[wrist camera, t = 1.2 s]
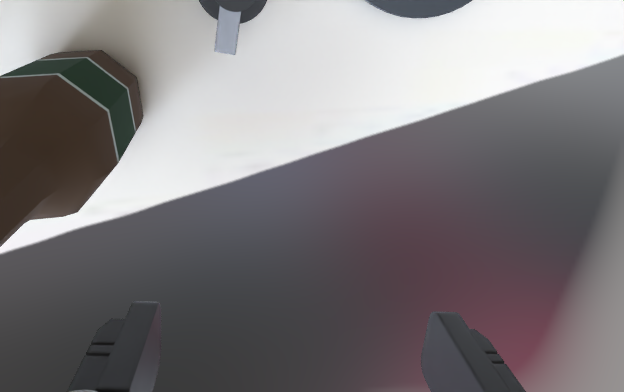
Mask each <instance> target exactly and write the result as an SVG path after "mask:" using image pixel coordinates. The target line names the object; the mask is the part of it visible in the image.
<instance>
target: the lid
mask: <svg viewBox="0 0 624 392" xmlns="http://www.w3.org/2000/svg"><path fill="white" fill-rule="evenodd" d="M365 1H367V2H368V3H370V4H371V5H373V6H375V7H376V8H378V9H380V10H383V11H385V12H387V13H390V14H394V15H397V16H401V17H408V18H429V17H435V16H440V15H443V14H446V13H450V12H452V11H454V10H456V9H459V8H461V7H463V6H464V5H466V4H467V3H469V2H471V1H472V0H365Z"/></svg>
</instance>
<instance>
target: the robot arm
mask: <svg viewBox="0 0 624 392" xmlns="http://www.w3.org/2000/svg"><path fill="white" fill-rule="evenodd" d="M160 355H161V304H160V302H140V301H133V302H132V304H131V306H130V309H129V311H128V314H127V316H126V318H125V319H110V320H109V321H108V322H107V323H105V324H104V325H103V326H102V327H100V328H99V329H98V331H97V332H96V335H95V336H94V338H93V340H92V343H91V345H90V346H89V348H88V350H87V352H86V356H84V358H83V360H82V362H81V364H80V366H79V368H78V370H77V372H76V374H75V376H74V378H73V380H72V382H71V384H70V386H69V388H68V390H67V392H152V391H153V388H154V384H155V380H156V377H157V373H158V369H159V364H160ZM421 367H422V372H423V375H424V378H425V380H426V382H427V384H428V386H429V388H430V390H431V392H526V391H525V390H524V389H523V387H522V386H521V384H520V383H519V382H518V380H517V379H516V377H515V376H514V375H513V373H512V372H511V370H510V369H509V368H508V366H507V365H506V364H504V361H503V359H502V358H501V357H500V355H499V354H497V351H496V349H495V348H494V347H493V345H492V344H491V342H490V341H489V340H488V339H487V338H485V337H484V336H483V335H482V334H480V333H479V332H478V331H476V330H475V329H469V328H468V326H467V325H466V323H465V322H464V320H463V319H462V317H461V316H460V315H459V313H457V312H432V313H431V315H430V317H429V321H428V326H427V330H426V336H425V340H424V345H423V349H422V355H421Z"/></svg>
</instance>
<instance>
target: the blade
mask: <svg viewBox="0 0 624 392" xmlns="http://www.w3.org/2000/svg"><path fill="white" fill-rule="evenodd" d="M266 1H267V0H199V2H200V3H201V5H202V7H203V8H204V9H205V10H206V12H207V13H209V14H210V15H211V16H212V17H214V18H215V19H217V20H218V25H217V34H216V42H215V52H221V53H226V54H232V55H235V53H236V46H237V38H238V31H239V24H240V23H244V22H247V21H249V20H251V19H253V18H254V17H256V16H257V15H258V14H259V13H260V12H261V10H262V9H263V7H264V6H265V4H266Z"/></svg>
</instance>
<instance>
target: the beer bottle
mask: <svg viewBox="0 0 624 392" xmlns="http://www.w3.org/2000/svg"><path fill="white" fill-rule="evenodd" d="M142 119H143V112H142V106H141V101H140V95H139V89H138V83H137V78H136V77H135V76H134V75H133V74H131V73H130V72H129V71H127V70H126V69H125V68H124V67H122V66H121V65H120V64H118V63H117V62H116V61H115V60H113V59H112V58H111V57H110V56H108V55H107V54H106V53H104V52H103V51H102V50H99V51H80V52H62V53H55V54H51V55H48V56H46V57H43V58H41V59H39V60H36V61H34V62H32V63H30V64H27V65H25V66H23V67H20V68H18V69H16V70H13V71H11V72H9V73H6V74H4V75H2V76H0V247H1V246H2V245H3V244H4V243H5V242H6V241H7V240H8V239H9V238H10V237H11V236H12V235H13V234H14V233H15V232H16V231H17V230H18V229H19V228H20V227H21V226H22V225H23V224H24V223H26V222H27V221H29V220H33V219H43V218H54V217H63V216H66V215H70V214H73V213H76V212H78V211H79V210H80V208H81V207H82V206H83V205H84V204H85V203H86V202H87V200H88V199H89V198H90V197H91V195H92V194H93V193H94V192H95V191H96V189H97V188H98V187H99V186H100V185H101V183H102V182H103V181H104V180H105V178H106V177H107V176H108V175H109V174H110V172H111V171H112V170H113V169H114V168H115V166H116V165H117V164H118V162H119V161H120V159H121V157H122V155H123V154H124V152H125V150H126V148H127V147H128V145H129V143H130V141H131V140H132V138H133V136H134V134H135V133H136V131H137V129H138V127H139V126H140V124H141V122H142Z"/></svg>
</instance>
